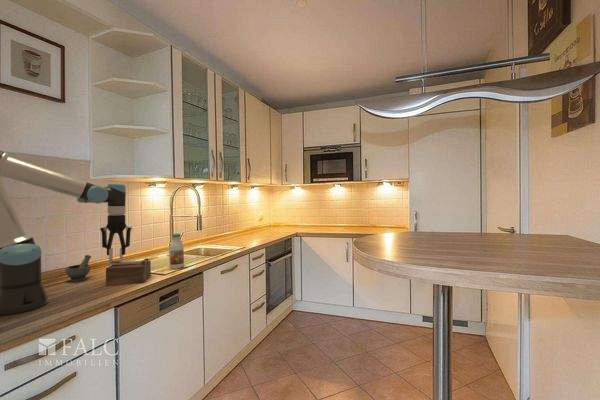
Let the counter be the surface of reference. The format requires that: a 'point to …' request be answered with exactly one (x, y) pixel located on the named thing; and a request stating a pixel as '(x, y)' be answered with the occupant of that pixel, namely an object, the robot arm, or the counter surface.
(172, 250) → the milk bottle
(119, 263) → the clasp bar
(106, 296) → the counter surface
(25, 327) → the counter surface
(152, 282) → the counter surface
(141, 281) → the crate
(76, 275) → the mortar and pestle
